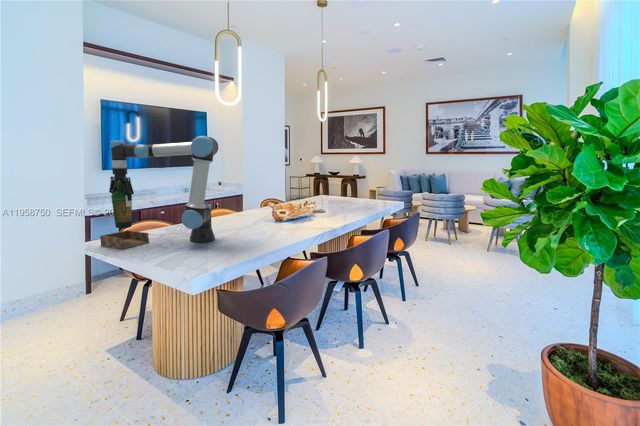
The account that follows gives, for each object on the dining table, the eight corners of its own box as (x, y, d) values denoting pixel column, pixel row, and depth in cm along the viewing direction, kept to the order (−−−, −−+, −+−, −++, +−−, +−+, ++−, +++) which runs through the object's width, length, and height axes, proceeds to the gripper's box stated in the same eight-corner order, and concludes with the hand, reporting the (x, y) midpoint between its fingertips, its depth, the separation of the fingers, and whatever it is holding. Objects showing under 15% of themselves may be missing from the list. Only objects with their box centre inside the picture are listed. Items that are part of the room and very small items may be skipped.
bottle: (125, 229, 210) (121, 180, 205) (109, 228, 212) (105, 180, 208) (137, 225, 220) (134, 179, 216) (122, 224, 222) (119, 178, 218)
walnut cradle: (148, 243, 222) (148, 233, 221) (122, 249, 206) (121, 239, 205) (128, 239, 230) (127, 230, 229) (101, 246, 213) (100, 235, 212)
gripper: (139, 168, 209) (141, 206, 213) (112, 166, 219) (114, 203, 222) (127, 168, 203) (130, 207, 206) (100, 167, 212) (103, 204, 215)
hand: (122, 205), depth 214 cm, fingers closed on bottle, 10 cm apart
